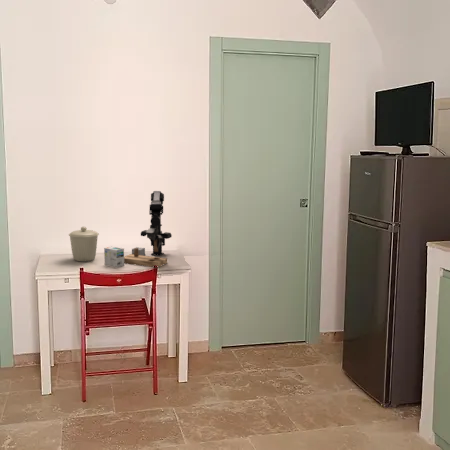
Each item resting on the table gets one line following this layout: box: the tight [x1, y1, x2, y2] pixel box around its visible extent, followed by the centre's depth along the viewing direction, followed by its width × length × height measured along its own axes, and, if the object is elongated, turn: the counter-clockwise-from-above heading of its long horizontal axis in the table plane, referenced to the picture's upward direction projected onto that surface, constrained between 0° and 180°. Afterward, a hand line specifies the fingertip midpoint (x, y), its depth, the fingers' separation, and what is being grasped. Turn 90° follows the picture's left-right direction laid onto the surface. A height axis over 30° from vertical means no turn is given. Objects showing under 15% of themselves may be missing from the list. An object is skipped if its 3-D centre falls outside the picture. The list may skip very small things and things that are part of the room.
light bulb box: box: [103, 245, 125, 268], centre depth 357 cm, size 11×7×11 cm, turn 56°
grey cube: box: [131, 246, 146, 256], centre depth 377 cm, size 6×6×6 cm
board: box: [124, 247, 168, 268], centre depth 364 cm, size 12×26×8 cm, turn 67°
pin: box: [154, 240, 158, 252], centre depth 362 cm, size 3×3×7 cm
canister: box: [68, 226, 100, 263], centre depth 368 cm, size 18×18×21 cm
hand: (156, 248), depth 363 cm, fingers closed on pin, 3 cm apart
